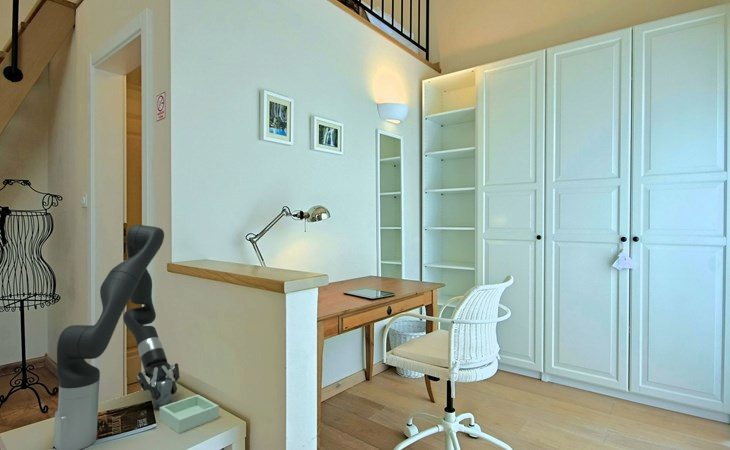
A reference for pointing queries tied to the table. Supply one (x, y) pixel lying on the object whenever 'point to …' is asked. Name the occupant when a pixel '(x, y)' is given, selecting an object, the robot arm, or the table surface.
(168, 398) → the metal tin
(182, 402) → the tray
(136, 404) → the table surface
